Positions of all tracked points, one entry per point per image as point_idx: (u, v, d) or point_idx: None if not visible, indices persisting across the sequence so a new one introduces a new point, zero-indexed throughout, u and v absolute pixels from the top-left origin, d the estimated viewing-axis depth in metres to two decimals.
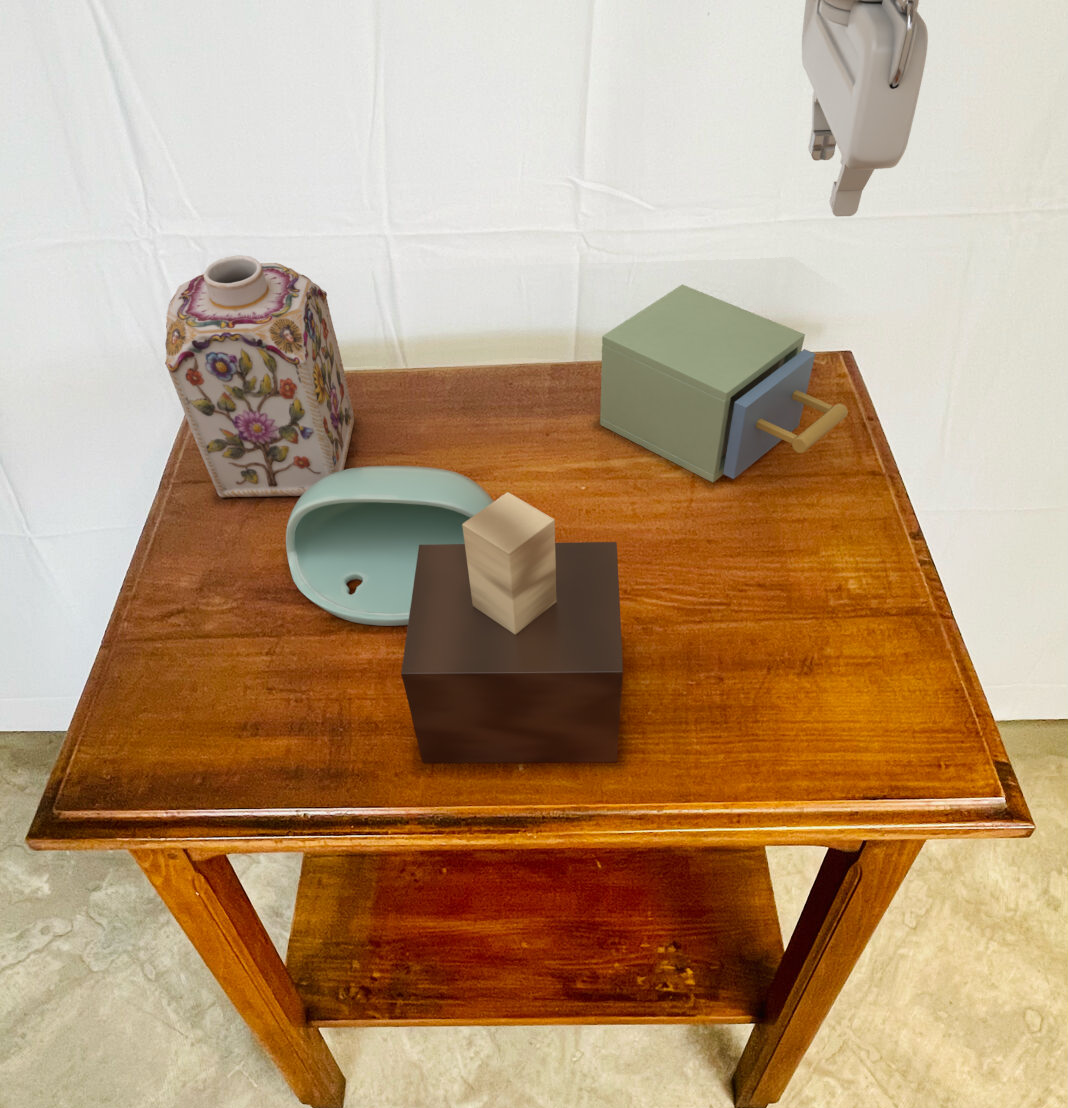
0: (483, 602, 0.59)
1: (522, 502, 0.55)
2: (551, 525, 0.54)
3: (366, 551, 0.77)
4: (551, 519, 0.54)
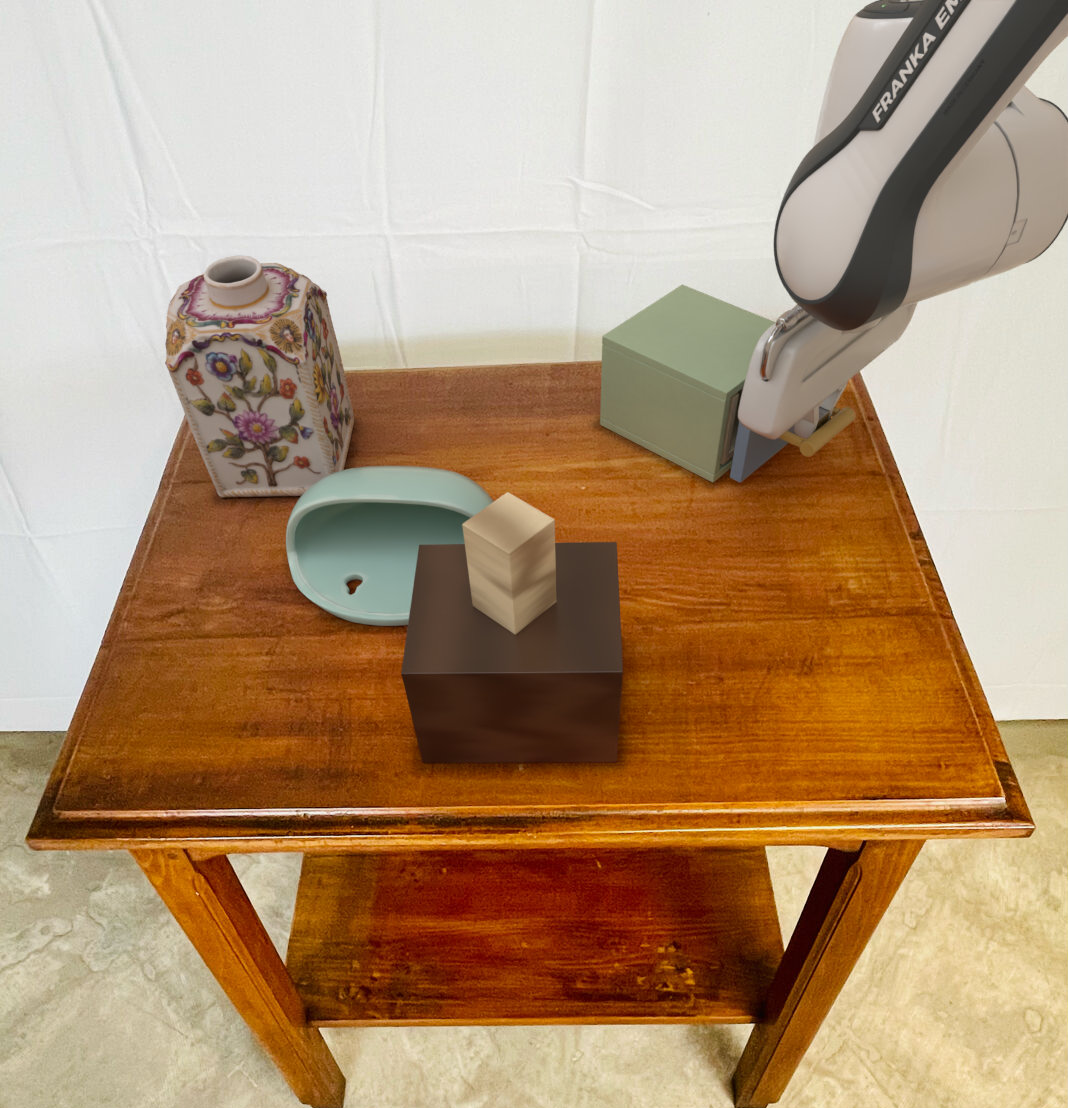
0: (483, 602, 0.59)
1: (522, 502, 0.55)
2: (551, 525, 0.54)
3: (366, 551, 0.77)
4: (551, 519, 0.54)
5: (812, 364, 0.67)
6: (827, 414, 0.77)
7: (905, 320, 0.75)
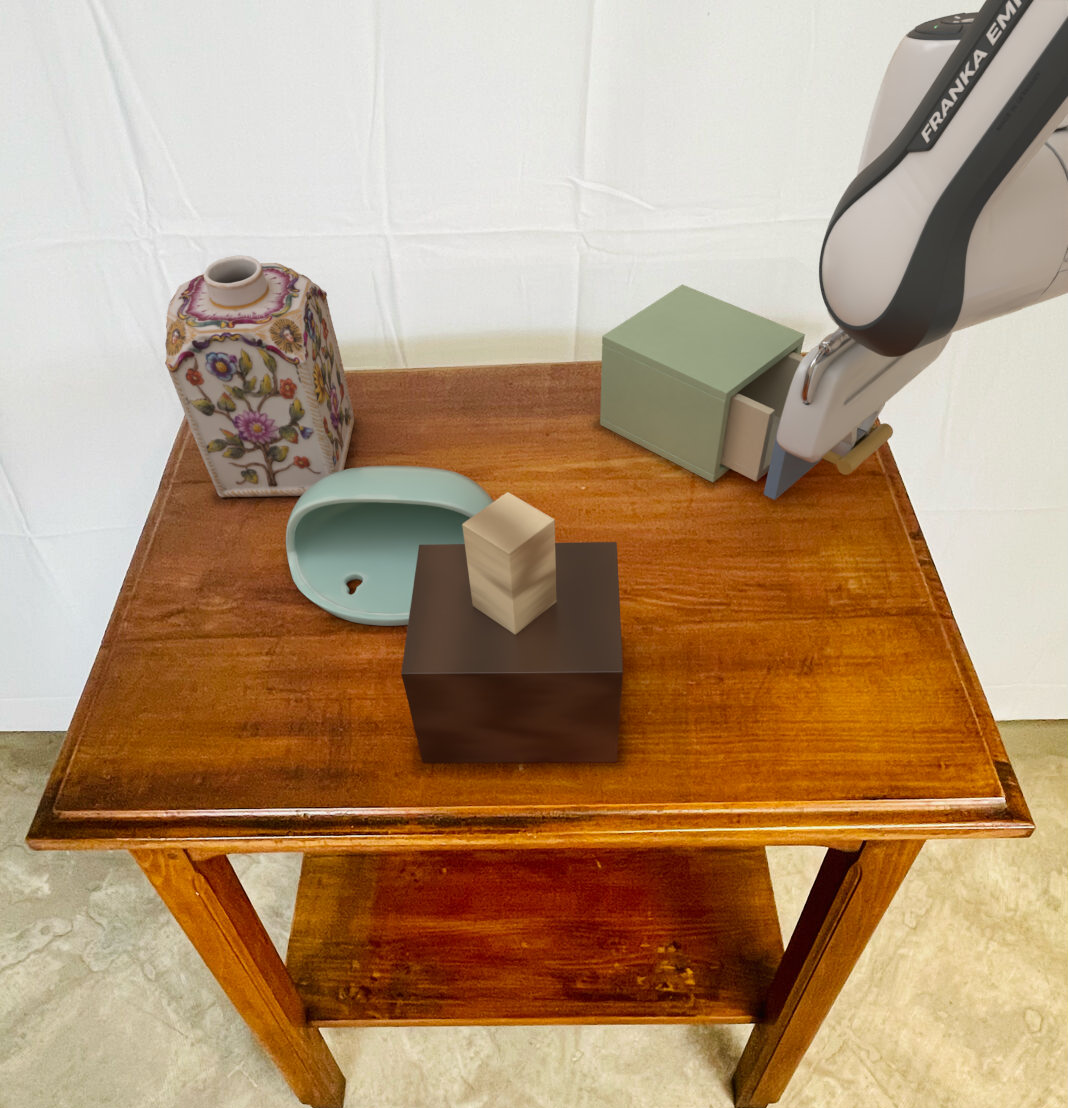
0: (483, 602, 0.59)
1: (522, 502, 0.55)
2: (551, 525, 0.54)
3: (366, 551, 0.77)
4: (551, 519, 0.54)
5: (853, 387, 0.66)
6: (864, 435, 0.75)
7: (944, 340, 0.74)
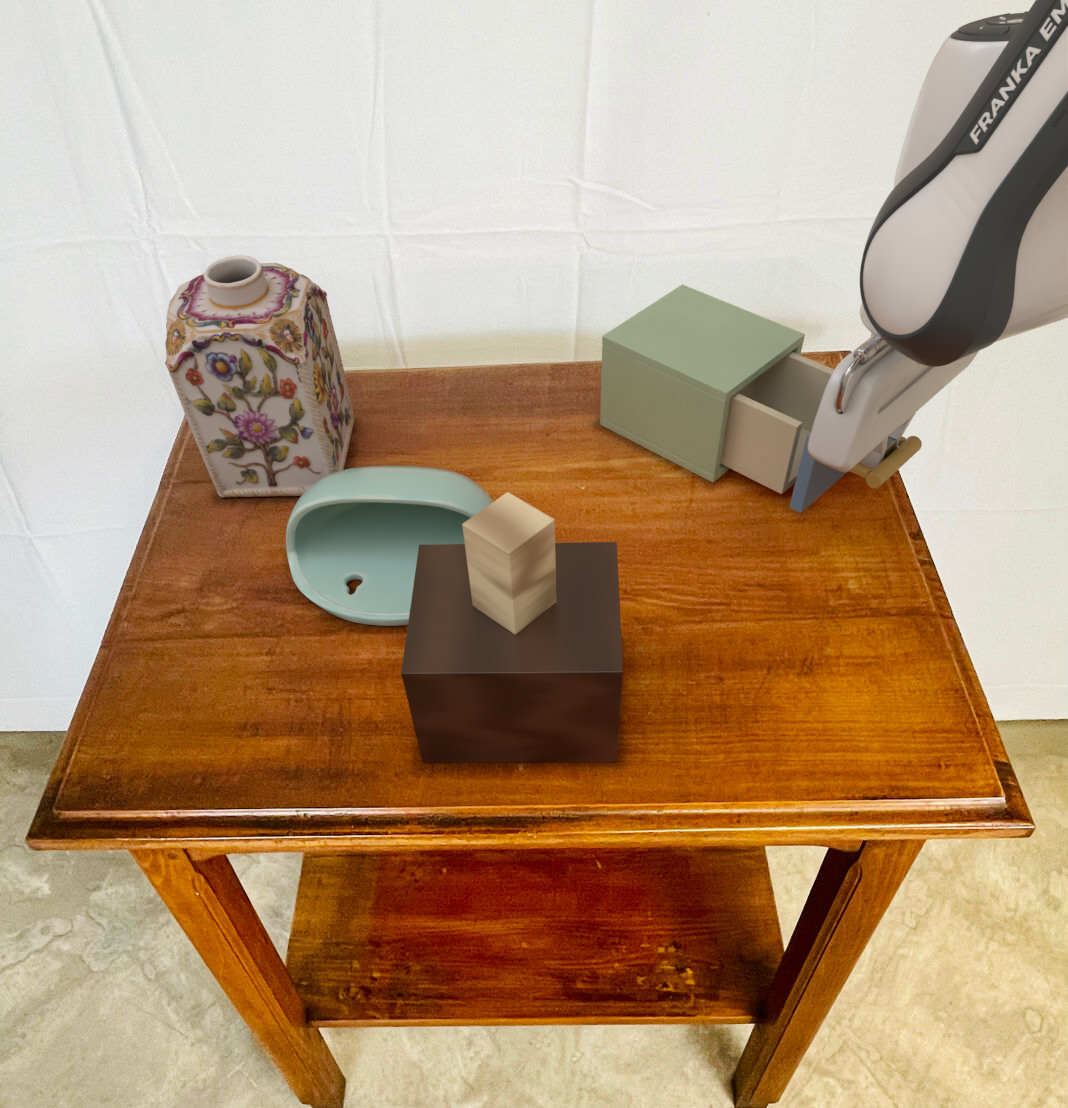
0: (483, 602, 0.59)
1: (522, 502, 0.55)
2: (551, 525, 0.54)
3: (366, 551, 0.77)
4: (551, 519, 0.54)
5: (887, 395, 0.65)
6: (895, 443, 0.74)
7: None
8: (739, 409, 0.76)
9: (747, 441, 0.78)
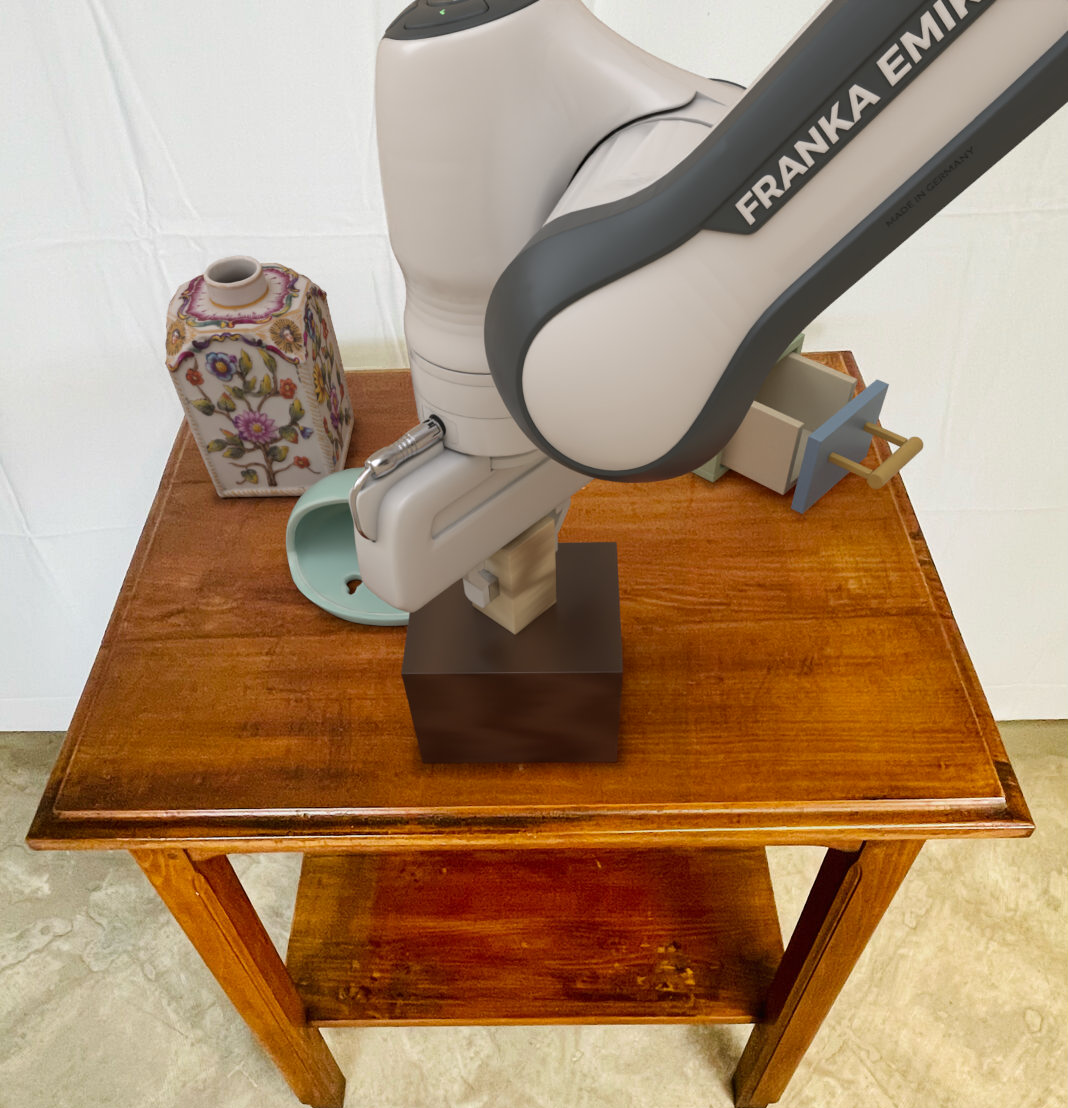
0: None
1: None
2: (551, 525, 0.54)
3: None
4: (551, 519, 0.54)
5: (447, 514, 0.47)
6: None
7: None
8: None
9: (748, 442, 0.78)
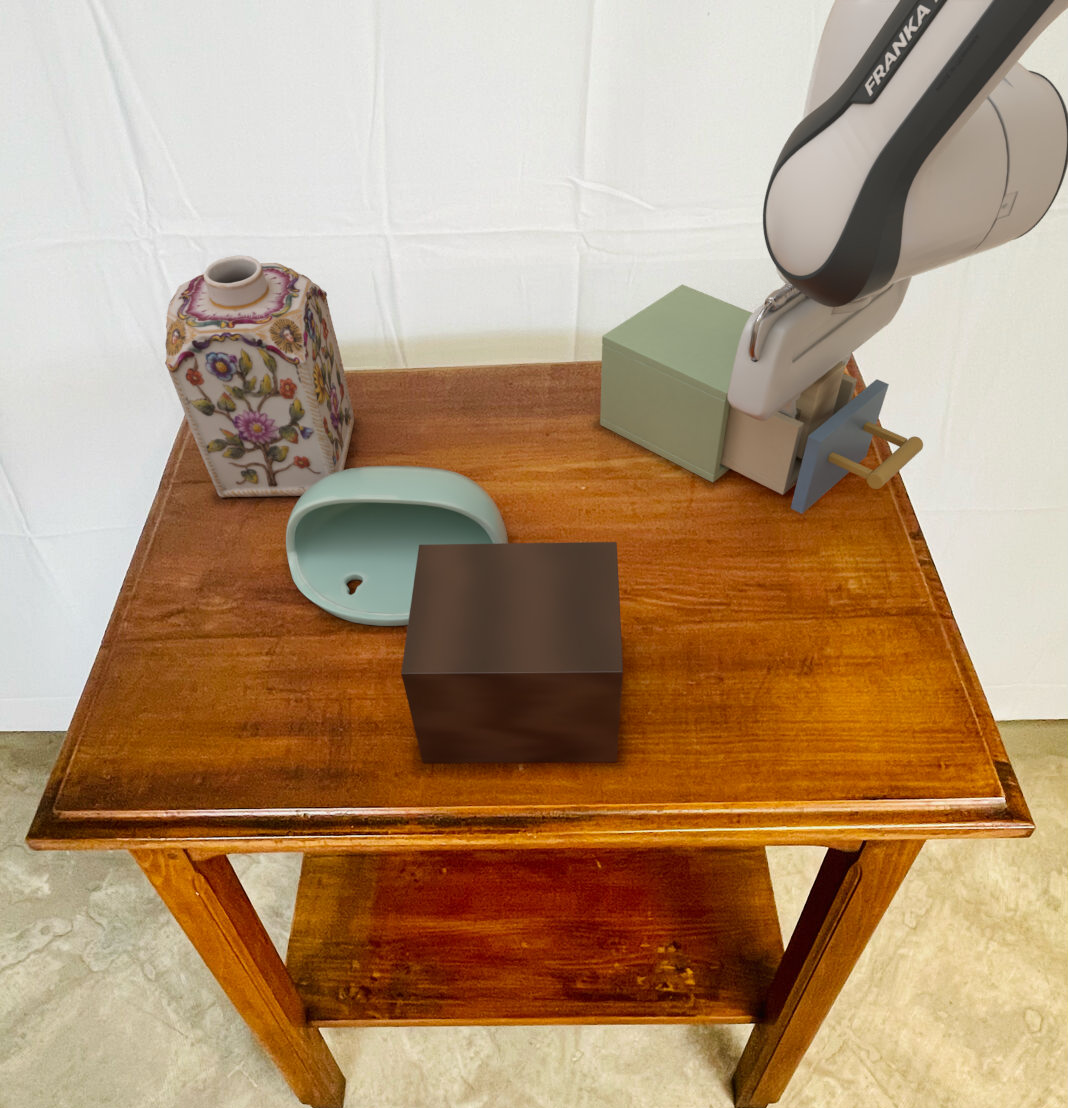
0: None
1: None
2: (843, 368, 0.74)
3: (366, 551, 0.77)
4: (843, 364, 0.74)
5: (801, 345, 0.67)
6: None
7: (896, 303, 0.75)
8: None
9: (748, 442, 0.78)
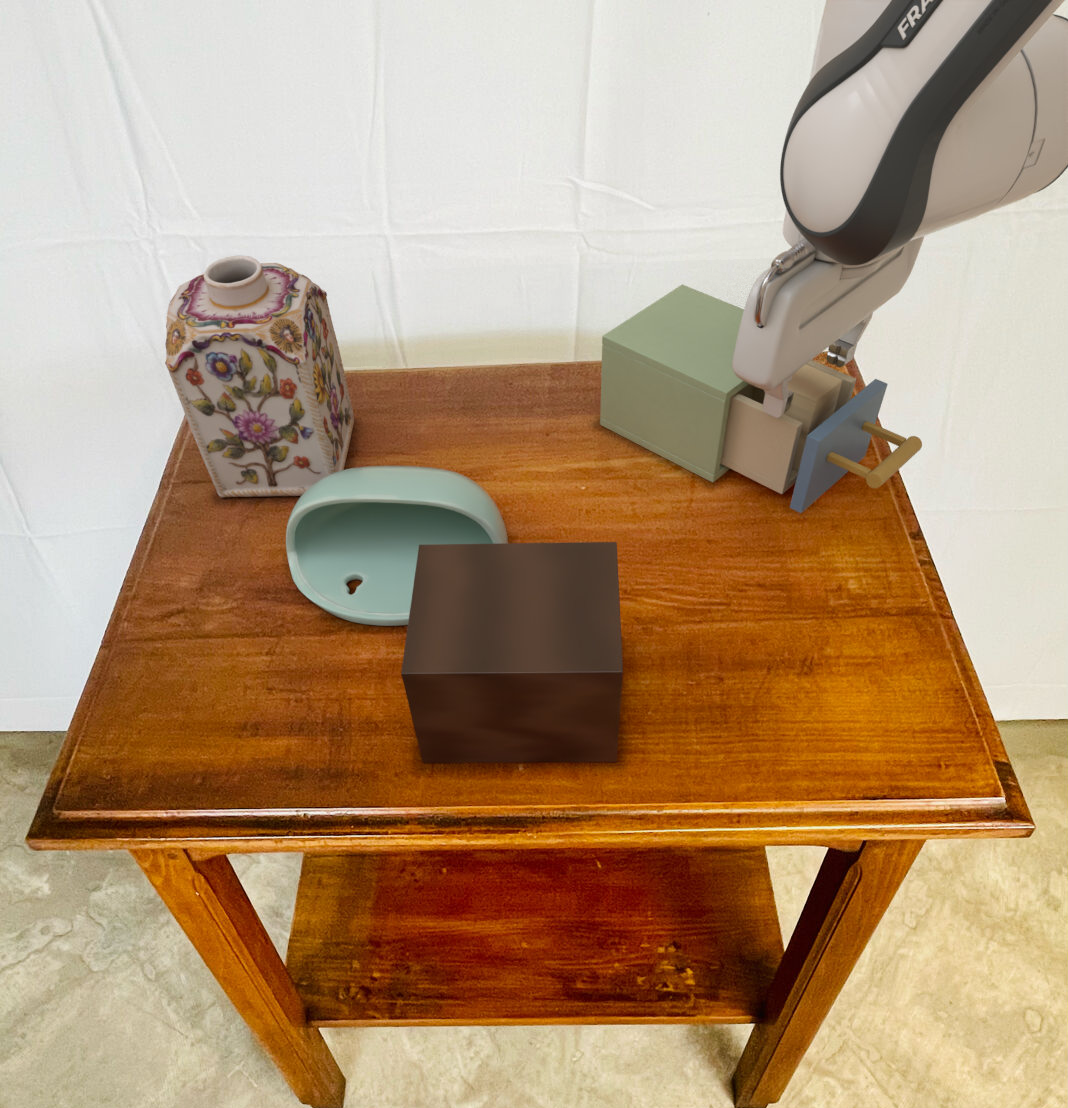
0: None
1: (815, 369, 0.76)
2: (840, 383, 0.75)
3: (366, 551, 0.77)
4: (840, 379, 0.75)
5: (809, 310, 0.65)
6: (851, 348, 0.76)
7: (905, 271, 0.73)
8: (739, 409, 0.76)
9: (747, 441, 0.78)
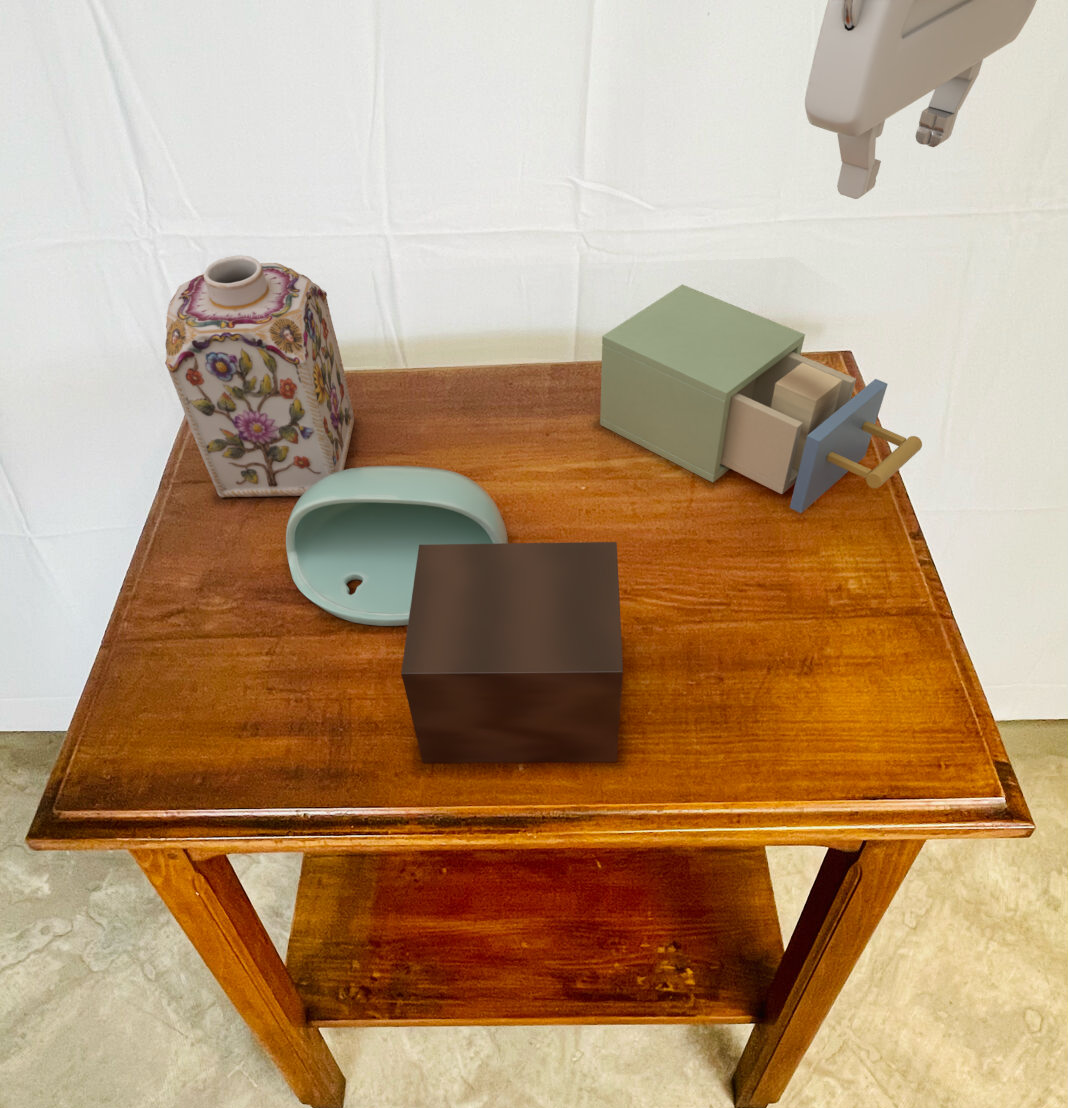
0: None
1: (815, 369, 0.76)
2: (840, 383, 0.75)
3: (366, 551, 0.77)
4: (840, 379, 0.75)
5: (915, 12, 0.47)
6: (951, 118, 0.58)
7: (1028, 3, 0.55)
8: (739, 409, 0.76)
9: (747, 441, 0.78)
